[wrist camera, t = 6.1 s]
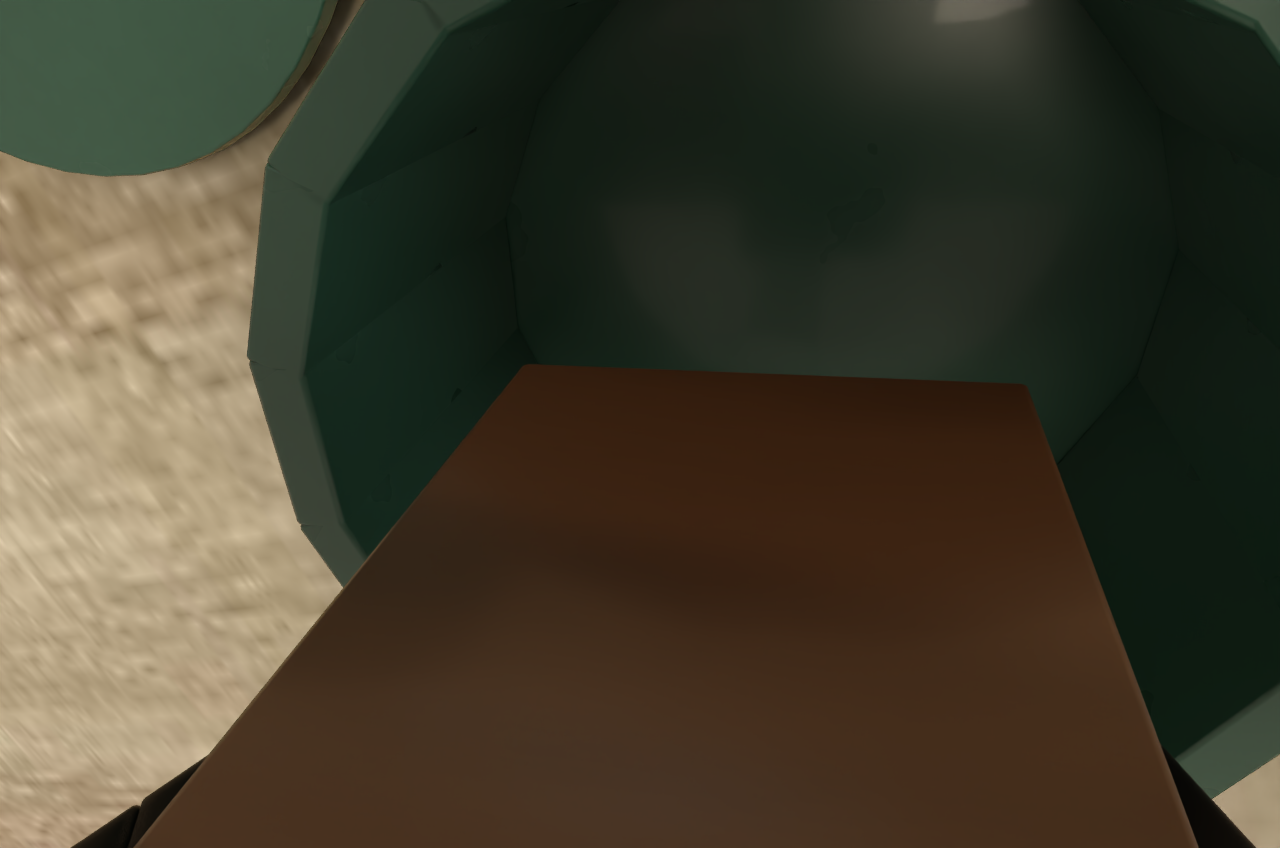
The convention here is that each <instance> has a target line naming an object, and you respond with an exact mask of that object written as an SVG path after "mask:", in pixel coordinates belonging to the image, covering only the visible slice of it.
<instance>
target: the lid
mask: <svg viewBox="0 0 1280 848" xmlns="http://www.w3.org/2000/svg"><path fill="white" fill-rule="evenodd" d="M337 1H338V0H0V151H2V152H4V153H7V154H9V155H12V156H14V157H17V158H19V159H22V160H24V161H27V162H31V163H35V164H38V165H42V166H46V167H50V168H54V169H57V170H61V171H65V172H72V173H80V174H89V175H97V176H106V177H107V176H132V175H146V174H150V173H155V172H159V171H164V170H169V169H173V168H178V167H181V166H184V165H187V164H190V163H193V162H195V161H197V160H200V159H202V158H204V157H207V156H209V155H211V154H214V153H216V152H219V151H221V150H223V149H225V148H227V147H228V146H230V145H231V144H233V143H234V142H236V141H237V140H239V139H240V138H242V137H243V136H245V135H246V134H248V133H249V132H251V131H252V130H253V129H255V128H256V127H257V126H258V125H259V124H260V123H261V122H262V121H263V120H264V119H265V118H266V117H267V116H268V115H269V114H270V113H271V112H272V111H273V110H274V109H275V108H277V107H278V106H279V105H280V104H281V103H282V102H283V101H284V99H285V98H286V97H287V95H288V94H289V92H290V91H291V90H292V88H293V87H294V85H295V84H296V83H297V81H298V80H299V78H300V77H301V76H302V74H303V73H304V71H305V70H306V69H307V67H308V66H309V64H310V62H311V60H312V58H313V56H314V54H315V52H316V50H317V48H318V46H319V44H320V42H321V40H322V38H323V36H324V34H325V32H326V30H327V28H328V26H329V24H330V22H331V19H332V16H333V13H334V10H335V7H336V4H337Z"/></svg>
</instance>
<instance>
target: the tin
mask: <svg viewBox="0 0 1280 848" xmlns="http://www.w3.org/2000/svg"><path fill="white" fill-rule="evenodd" d="M247 357H248V359H249V360H250V364H249V365H250V369H251V372H252V375H253V378H254V382H255V385H256V388H257V391H258V395H259V398H260V401H261V404H262V408H263V411H264V414H265V417H266V421H267V424H268V427H269V430H270V434H271V437H272V440H273V443H274V447H275V450H276V453H277V456H278V460H279V463H280V466H281V469H282V473H283V476H284V479H285V482H286V486H287V489H288V492H289V495H290V499H291V502H292V505H293V508H294V512H295V515H296V518H297V521H298V522H299V524H301V530H302V531H303V533H304V534H305V535H306V537H307V538H308V540H309V541H310V542H311V544H312V545H313V547H314V548H315V549H316V551H317V552H318V553H319V555H320V556H321V558H322V559H323V560H324V562H325V563H326V565H327V566H328V567H329V569H330V570H331V571H332V573H333V574H334V576H335V577H336V578H337V580H338V581H339V583H340V584H341V585H342V587H343V588H344V587H345V585H346V584H347V583H348V582H349V580H350V579H351V578H352V577H353V575H354V574H355V573H356V572H357V570H358V569H359V568H360V567H361V565H362V564H363V563H364V562H365V561H366V559H367V558H368V557H369V556H370V554H371V553H372V552H373V551H374V549H375V548H376V547H377V546H378V544H379V543H380V542H381V541H382V539H383V538H384V537H385V536H386V535H387V533H388V532H389V531H390V530H391V528H392V527H393V526H394V525H395V523H396V522H397V521H398V520H399V518H400V517H401V516H402V515H403V513H404V512H405V511H406V510H407V509H408V507H409V506H410V505H411V504H412V502H413V501H414V500H415V499H416V497H417V496H418V495H419V494H420V492H421V491H422V490H423V489H424V487H425V486H426V485H427V484H428V483H429V481H430V480H431V479H432V478H433V476H434V475H435V474H436V473H437V471H438V470H439V469H440V468H441V466H442V465H443V464H444V463H445V461H446V460H447V459H448V458H449V457H450V455H451V454H452V453H453V452H454V450H455V449H456V448H457V447H458V445H459V444H460V443H461V442H462V440H463V439H464V438H465V437H466V435H467V434H468V433H469V432H470V431H471V429H472V428H473V427H474V426H475V424H476V423H477V422H478V421H479V419H480V418H481V417H482V416H483V414H484V413H485V412H486V411H487V409H488V408H489V407H490V406H491V405H492V403H493V402H494V401H495V400H496V398H497V397H498V396H499V395H500V393H501V392H502V391H503V390H504V388H505V387H506V386H507V385H508V383H509V382H510V381H511V380H512V379H513V377H514V376H515V375H516V374H517V372H518V371H519V370H520V369H521V367H522V366H524V365H527V364H539V365H565V366H590V367H615V368H640V369H666V370H691V371H716V372H742V373H767V374H792V375H817V376H843V377H868V378H893V379H919V380H944V381H969V382H994V383H1020V384H1023V385H1026V386H1027V387H1028V390H1029V392H1030V395H1031V398H1032V400H1033V403H1034V406H1035V409H1036V411H1037V414H1038V417H1039V419H1040V422H1041V425H1042V427H1043V430H1044V433H1045V435H1046V438H1047V441H1048V444H1049V446H1050V449H1051V452H1052V454H1053V457H1054V460H1055V462H1056V465H1057V468H1058V470H1059V473H1060V476H1061V479H1062V481H1063V484H1064V487H1065V489H1066V492H1067V495H1068V497H1069V500H1070V503H1071V505H1072V508H1073V511H1074V513H1075V516H1076V519H1077V522H1078V524H1079V527H1080V530H1081V532H1082V535H1083V538H1084V540H1085V543H1086V546H1087V548H1088V551H1089V554H1090V557H1091V559H1092V562H1093V565H1094V567H1095V570H1096V573H1097V575H1098V578H1099V581H1100V583H1101V586H1102V589H1103V592H1104V594H1105V597H1106V600H1107V602H1108V605H1109V608H1110V610H1111V613H1112V616H1113V618H1114V621H1115V624H1116V627H1117V629H1118V632H1119V635H1120V637H1121V640H1122V643H1123V645H1124V648H1125V651H1126V653H1127V656H1128V659H1129V661H1130V664H1131V667H1132V670H1133V672H1134V675H1135V678H1136V680H1137V683H1138V686H1139V688H1140V691H1141V694H1142V696H1143V699H1144V702H1145V705H1146V707H1147V710H1148V713H1149V715H1150V718H1151V721H1152V723H1153V726H1154V729H1155V731H1156V734H1157V737H1158V740H1159V742H1160V744H1161V745H1162V746H1163V747H1164V748H1165V749H1166V750H1167V751H1168V752H1169V753H1170V754H1171V756H1172V757H1173V758H1174V759H1175V760H1176V761H1177V762H1178V763H1179V764H1180V765H1181V766H1182V768H1183V769H1184V770H1185V771H1186V772H1187V773H1188V774H1189V775H1190V776H1191V777H1192V778H1193V780H1194V781H1195V782H1196V783H1197V784H1198V785H1199V786H1200V787H1201V788H1202V789H1203V790H1204V792H1205V793H1206V794H1207V795H1208V796H1209V797H1210V798H1211V799H1213V798H1214V797H1216V796H1217V795H1219V794H1220V793H1222V792H1223V791H1225V790H1226V789H1228V788H1229V787H1231V786H1232V785H1234V784H1235V783H1237V782H1238V781H1240V780H1241V779H1243V778H1244V777H1246V776H1248V775H1249V774H1251V773H1252V772H1254V771H1255V770H1257V769H1258V768H1260V767H1261V766H1263V765H1264V764H1266V763H1267V762H1269V761H1270V760H1272V759H1273V758H1275V757H1276V756H1278V755H1279V754H1280V0H365V1H364V3H363V4H362V6H361V8H360V9H359V11H358V12H357V14H356V16H355V17H354V19H353V21H352V22H351V24H350V26H349V27H348V29H347V30H346V32H345V34H344V35H343V37H342V39H341V40H340V42H339V43H338V45H337V47H336V48H335V50H334V52H333V53H332V55H331V57H330V58H329V60H328V61H327V63H326V65H325V66H324V68H323V70H322V71H321V73H320V75H319V76H318V78H317V79H316V81H315V83H314V84H313V86H312V88H311V89H310V91H309V92H308V94H307V96H306V97H305V99H304V101H303V102H302V104H301V106H300V107H299V109H298V110H297V112H296V114H295V115H294V117H293V119H292V120H291V122H290V123H289V125H288V127H287V128H286V130H285V132H284V133H283V135H282V137H281V138H280V140H279V141H278V143H277V145H276V146H275V148H274V150H273V151H272V153H271V154H270V156H269V158H268V163H267V165H266V167H265V173H264V184H263V194H262V204H261V215H260V225H259V236H258V246H257V256H256V267H255V277H254V288H253V298H252V309H251V319H250V329H249V340H248V350H247Z"/></svg>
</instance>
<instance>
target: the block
mask: <svg viewBox="0 0 1280 848" xmlns="http://www.w3.org/2000/svg"><path fill="white" fill-rule="evenodd" d="M134 848H1199V847H1198V844H1197V842H1196V839H1195V836H1194V834H1193V831H1192V828H1191V826H1190V823H1189V820H1188V818H1187V815H1186V812H1185V809H1184V807H1183V804H1182V801H1181V799H1180V796H1179V793H1178V791H1177V788H1176V785H1175V783H1174V780H1173V777H1172V775H1171V772H1170V769H1169V766H1168V764H1167V761H1166V758H1165V756H1164V753H1163V750H1162V748H1161V745H1160V742H1159V740H1158V737H1157V734H1156V731H1155V729H1154V726H1153V723H1152V721H1151V718H1150V715H1149V713H1148V710H1147V707H1146V705H1145V702H1144V699H1143V696H1142V694H1141V691H1140V688H1139V686H1138V683H1137V680H1136V678H1135V675H1134V672H1133V670H1132V667H1131V664H1130V661H1129V659H1128V656H1127V653H1126V651H1125V648H1124V645H1123V643H1122V640H1121V637H1120V635H1119V632H1118V629H1117V627H1116V624H1115V621H1114V618H1113V616H1112V613H1111V610H1110V608H1109V605H1108V602H1107V600H1106V597H1105V594H1104V592H1103V589H1102V586H1101V583H1100V581H1099V578H1098V575H1097V573H1096V570H1095V567H1094V565H1093V562H1092V559H1091V557H1090V554H1089V551H1088V548H1087V546H1086V543H1085V540H1084V538H1083V535H1082V532H1081V530H1080V527H1079V524H1078V522H1077V519H1076V516H1075V513H1074V511H1073V508H1072V505H1071V503H1070V500H1069V497H1068V495H1067V492H1066V489H1065V487H1064V484H1063V481H1062V479H1061V476H1060V473H1059V470H1058V468H1057V465H1056V462H1055V460H1054V457H1053V454H1052V452H1051V449H1050V446H1049V444H1048V441H1047V438H1046V435H1045V433H1044V430H1043V427H1042V425H1041V422H1040V419H1039V417H1038V414H1037V411H1036V409H1035V406H1034V403H1033V400H1032V398H1031V395H1030V392H1029V390H1028V387H1027V386H1026V385H1023V384H1020V383H994V382H969V381H944V380H919V379H893V378H868V377H843V376H817V375H792V374H767V373H742V372H716V371H691V370H666V369H640V368H615V367H590V366H565V365H539V364H527V365H524V366H522V367H521V369H520V370H519V371H518V372H517V374H516V375H515V376H514V377H513V379H512V380H511V381H510V382H509V383H508V385H507V386H506V387H505V388H504V390H503V391H502V392H501V393H500V395H499V396H498V397H497V398H496V400H495V401H494V402H493V403H492V405H491V406H490V407H489V408H488V409H487V411H486V412H485V413H484V414H483V416H482V417H481V418H480V419H479V421H478V422H477V423H476V424H475V426H474V427H473V428H472V429H471V431H470V432H469V433H468V434H467V435H466V437H465V438H464V439H463V440H462V442H461V443H460V444H459V445H458V447H457V448H456V449H455V450H454V452H453V453H452V454H451V455H450V457H449V458H448V459H447V460H446V461H445V463H444V464H443V465H442V466H441V468H440V469H439V470H438V471H437V473H436V474H435V475H434V476H433V478H432V479H431V480H430V481H429V483H428V484H427V485H426V486H425V487H424V489H423V490H422V491H421V492H420V494H419V495H418V496H417V497H416V499H415V500H414V501H413V502H412V504H411V505H410V506H409V507H408V509H407V510H406V511H405V512H404V513H403V515H402V516H401V517H400V518H399V520H398V521H397V522H396V523H395V525H394V526H393V527H392V528H391V530H390V531H389V532H388V533H387V535H386V536H385V537H384V538H383V539H382V541H381V542H380V543H379V544H378V546H377V547H376V548H375V549H374V551H373V552H372V553H371V554H370V556H369V557H368V558H367V559H366V561H365V562H364V563H363V564H362V565H361V567H360V568H359V569H358V570H357V572H356V573H355V574H354V575H353V577H352V578H351V579H350V580H349V582H348V583H347V584H346V585H345V587H344V588H343V589H342V590H341V591H340V593H339V594H338V595H337V596H336V598H335V599H334V600H333V601H332V603H331V604H330V605H329V606H328V608H327V609H326V610H325V611H324V613H323V614H322V615H321V616H320V617H319V619H318V620H317V621H316V622H315V624H314V625H313V626H312V627H311V629H310V630H309V631H308V632H307V634H306V635H305V636H304V637H303V639H302V640H301V641H300V642H299V643H298V645H297V646H296V647H295V648H294V650H293V651H292V652H291V653H290V655H289V656H288V657H287V658H286V660H285V661H284V662H283V663H282V665H281V666H280V667H279V668H278V669H277V671H276V672H275V673H274V674H273V676H272V677H271V678H270V679H269V681H268V682H267V683H266V684H265V686H264V687H263V688H262V689H261V691H260V692H259V693H258V694H257V695H256V697H255V698H254V699H253V700H252V702H251V703H250V704H249V705H248V707H247V708H246V709H245V710H244V712H243V713H242V714H241V715H240V717H239V718H238V719H237V720H236V721H235V723H234V724H233V725H232V726H231V728H230V729H229V730H228V731H227V733H226V734H225V735H224V736H223V738H222V739H221V740H220V741H219V743H218V744H217V745H216V746H215V747H214V749H213V750H212V751H211V752H210V754H209V755H208V756H207V757H206V759H205V760H204V761H203V762H202V764H201V765H200V766H199V767H198V769H197V770H196V771H195V772H194V773H193V775H192V776H191V777H190V778H189V780H188V781H187V782H186V783H185V785H184V786H183V787H182V788H181V790H180V791H179V792H178V793H177V795H176V796H175V797H174V798H173V799H172V801H171V802H170V803H169V804H168V806H167V807H166V808H165V809H164V811H163V812H162V813H161V814H160V816H159V817H158V818H157V819H156V821H155V822H154V823H153V824H152V825H151V827H150V828H149V829H148V830H147V832H146V833H145V834H144V835H143V837H142V838H141V839H140V840H139V842H138V843H137V844H136V845H135V847H134Z"/></svg>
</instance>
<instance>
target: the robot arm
mask: <svg viewBox="0 0 1280 848" xmlns="http://www.w3.org/2000/svg"><path fill="white" fill-rule="evenodd" d="M1160 745H1161V744H1160ZM1161 748H1162V750H1163V753H1164V756H1165V758H1166V761H1167V764H1168V766H1169V769H1170V772H1171V775H1172V777H1173V780H1174V783H1175V785H1176V788H1177V791H1178V793H1179V796H1180V799H1181V801H1182V804H1183V807H1184V809H1185V812H1186V815H1187V818H1188V820H1189V823H1190V826H1191V828H1192V831H1193V834H1194V836H1195V839H1196V842H1197V844H1198V847H1199V848H1256V847H1255V846H1254V845H1253V844H1252V843H1251V842H1250V841H1249V840H1248V839H1247V837H1246V836H1245V835H1244V834H1243V833H1242V832H1241V831H1240V830H1239V829H1238V828H1237V827H1236V825H1235V824H1234V823H1233V822H1232V821H1231V820H1230V819H1229V818H1228V817H1227V816H1226V814H1225V813H1224V812H1223V811H1222V810H1221V809H1220V808H1219V807H1218V806H1217V805H1216V804H1215V802H1214V801H1213V800H1212V799H1211V798H1210V797H1209V796H1208V795H1207V794H1206V793H1205V792H1204V790H1203V789H1202V788H1201V787H1200V786H1199V785H1198V784H1197V783H1196V782H1195V781H1194V780H1193V778H1192V777H1191V776H1190V775H1189V774H1188V773H1187V772H1186V771H1185V770H1184V769H1183V768H1182V766H1181V765H1180V764H1179V763H1178V762H1177V761H1176V760H1175V759H1174V758H1173V757H1172V756H1171V754H1170V753H1169V752H1168V751H1167V750H1166V749H1165V748H1164V747H1163V746H1162V745H1161ZM207 756H208V755H207ZM207 756H206V757H207ZM206 757H204V758H203V759H202V760H200V761H199V762H197V763H196V764H194V765H193V766H191V767H190V768H188V769H187V770H185V771H184V772H182V773H181V774H179V775H178V776H177V777H175V778H174V779H172V780H171V781H169V782H168V783H166V784H165V785H163V786H162V787H160V788H159V789H157V790H156V791H154V792H153V793H151V794H150V795H149V796H147V797H146V798H145V799H144V800H143V801H142V804H141V807H140V806H138V805H135V806H132V807H130V808H129V809H127V810H126V811H125V812H123V813H122V814H120V815H119V816H117V817H116V818H114V819H113V820H111V821H110V822H108V823H107V824H105V825H104V826H102V827H101V828H99V829H98V830H97V831H95V832H94V833H92V834H91V835H89V836H88V837H86V838H85V839H83V840H82V841H80V842H79V843H77V844H76V845H74V846H72V847H71V848H134V847H135V845H136V844H137V843H138V842H139V840H140V839H141V838H142V837H143V835H144V834H145V833H146V832H147V830H148V829H149V828H150V827H151V825H152V824H153V823H154V822H155V821H156V819H157V818H158V817H159V816H160V814H161V813H162V812H163V811H164V809H165V808H166V807H167V806H168V804H169V803H170V802H171V801H172V799H173V798H174V797H175V796H176V795H177V793H178V792H179V791H180V790H181V788H182V787H183V786H184V785H185V783H186V782H187V781H188V780H189V778H190V777H191V776H192V775H193V773H194V772H195V771H196V770H197V769H198V767H199V766H200V765H201V764H202V762H203V761H204V760H205V759H206Z"/></svg>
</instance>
